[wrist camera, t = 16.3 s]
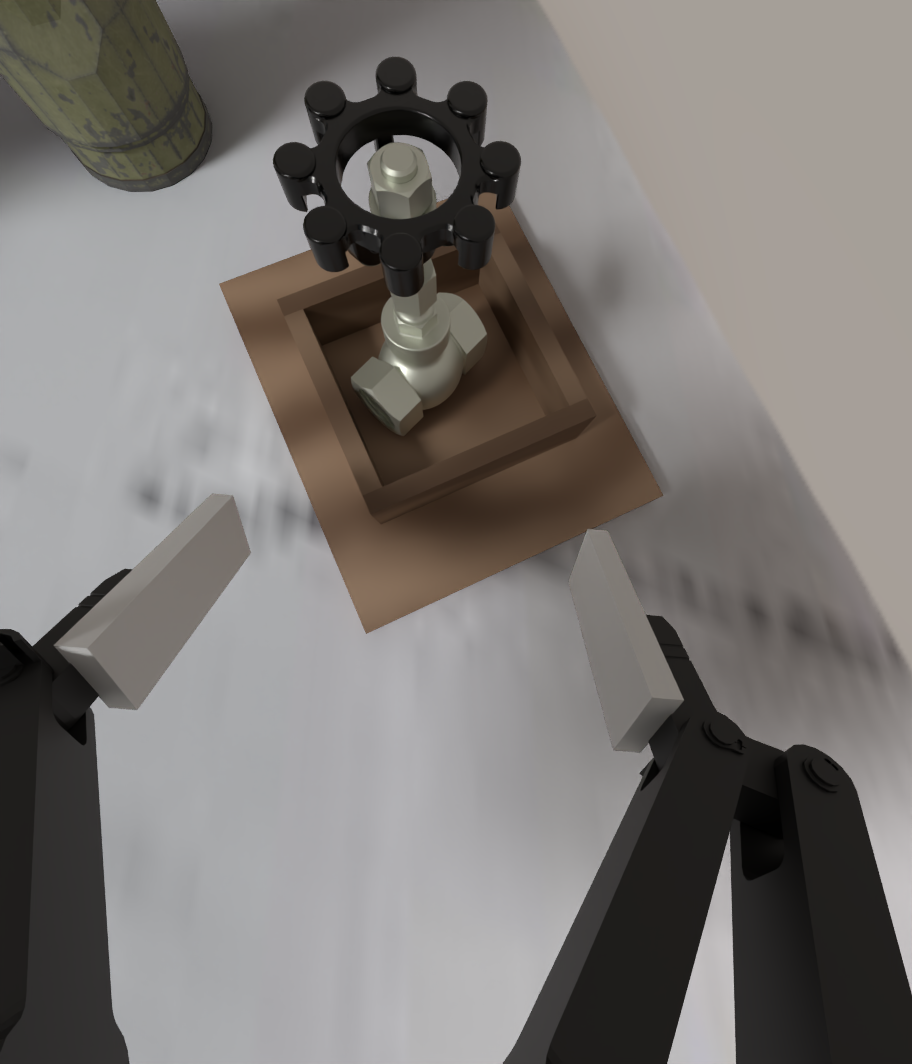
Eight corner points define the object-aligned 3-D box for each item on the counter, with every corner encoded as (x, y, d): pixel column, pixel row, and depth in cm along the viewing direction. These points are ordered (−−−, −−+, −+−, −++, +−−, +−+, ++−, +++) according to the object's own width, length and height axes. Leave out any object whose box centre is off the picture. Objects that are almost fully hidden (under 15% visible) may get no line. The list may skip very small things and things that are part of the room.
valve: (341, 388, 22) (218, 158, 10) (420, 311, 23) (394, 14, 11) (425, 465, 22) (402, 319, 10) (504, 384, 22) (571, 156, 10)
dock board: (228, 296, 24) (184, 238, 20) (493, 196, 25) (503, 123, 21) (369, 631, 21) (352, 642, 17) (653, 499, 23) (698, 481, 19)
